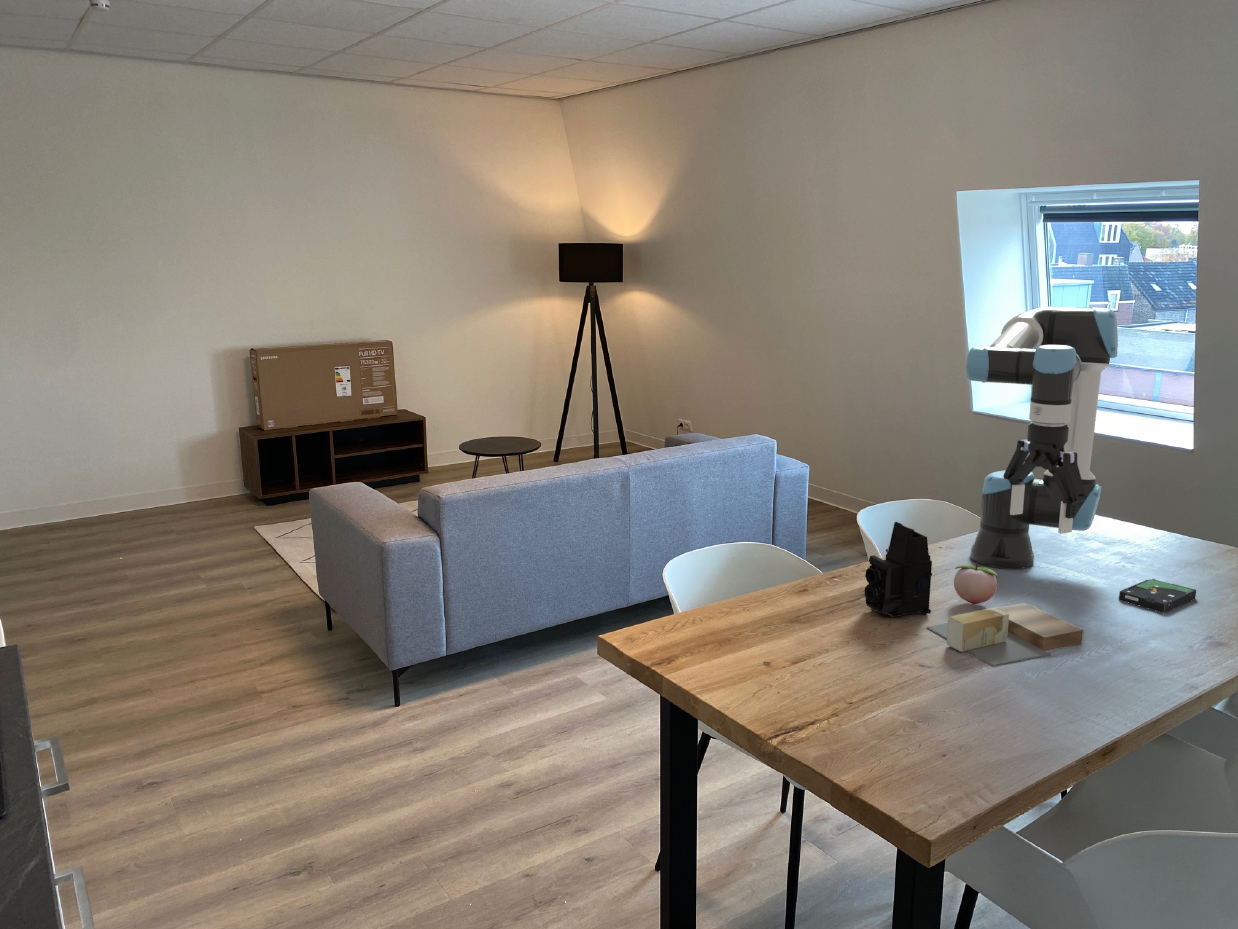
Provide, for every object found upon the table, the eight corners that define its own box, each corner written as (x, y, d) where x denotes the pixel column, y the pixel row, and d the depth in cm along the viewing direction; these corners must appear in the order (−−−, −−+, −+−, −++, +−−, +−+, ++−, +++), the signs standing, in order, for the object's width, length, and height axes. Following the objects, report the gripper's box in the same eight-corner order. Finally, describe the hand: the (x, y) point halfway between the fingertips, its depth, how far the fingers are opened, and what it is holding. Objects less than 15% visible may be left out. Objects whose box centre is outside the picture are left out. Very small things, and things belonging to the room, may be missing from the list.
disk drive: (1165, 616, 205) (1195, 600, 213) (1166, 604, 204) (1197, 589, 212) (1117, 602, 213) (1148, 587, 221) (1118, 590, 212) (1150, 576, 221)
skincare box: (1007, 642, 190) (961, 654, 185) (991, 634, 194) (945, 646, 189) (1009, 612, 188) (963, 624, 184) (993, 605, 192) (947, 616, 188)
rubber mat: (926, 628, 198) (927, 626, 198) (980, 618, 203) (980, 617, 203) (992, 666, 180) (993, 664, 180) (1050, 655, 184) (1050, 653, 184)
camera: (855, 608, 210) (859, 522, 205) (907, 600, 214) (912, 516, 209) (881, 624, 200) (886, 535, 196) (934, 616, 205) (940, 528, 200)
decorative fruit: (950, 608, 209) (953, 566, 206) (952, 596, 216) (955, 555, 214) (995, 614, 205) (999, 571, 203) (996, 601, 212) (999, 560, 210)
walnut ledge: (987, 622, 201) (988, 609, 200) (1024, 615, 204) (1025, 602, 204) (1042, 651, 186) (1044, 637, 186) (1081, 643, 189) (1083, 630, 189)
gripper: (990, 413, 198) (983, 508, 204) (1082, 436, 175) (1072, 543, 181) (1019, 410, 201) (1011, 504, 206) (1113, 432, 178) (1102, 538, 183)
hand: (1039, 523), depth 193 cm, fingers open, 13 cm apart
